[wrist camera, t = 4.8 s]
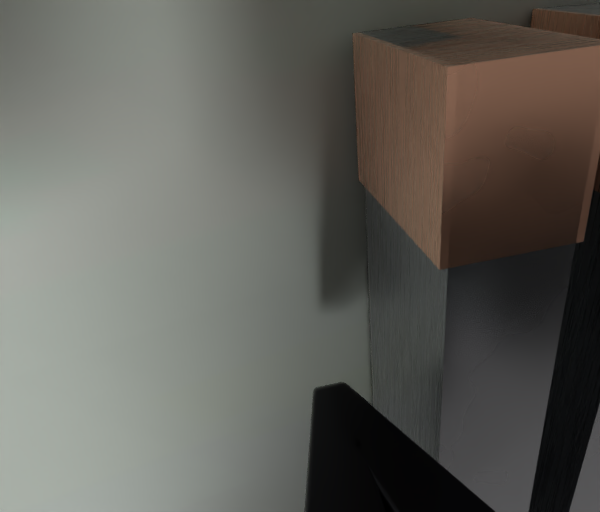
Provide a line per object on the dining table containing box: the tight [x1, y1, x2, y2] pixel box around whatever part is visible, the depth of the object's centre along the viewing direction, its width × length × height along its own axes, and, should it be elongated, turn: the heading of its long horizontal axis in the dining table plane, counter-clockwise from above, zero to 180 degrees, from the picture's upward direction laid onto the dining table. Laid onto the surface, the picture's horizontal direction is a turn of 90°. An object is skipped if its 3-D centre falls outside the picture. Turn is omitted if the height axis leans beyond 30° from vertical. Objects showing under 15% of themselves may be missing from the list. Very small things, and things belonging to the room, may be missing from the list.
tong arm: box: [352, 18, 600, 512], centre depth 9 cm, size 12×2×3 cm, turn 6°
